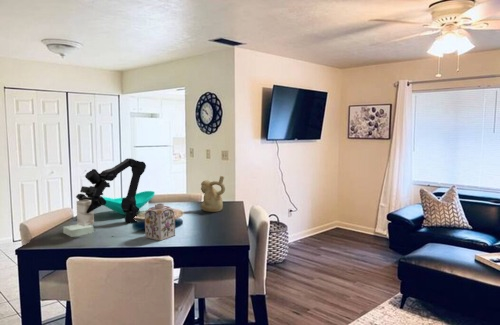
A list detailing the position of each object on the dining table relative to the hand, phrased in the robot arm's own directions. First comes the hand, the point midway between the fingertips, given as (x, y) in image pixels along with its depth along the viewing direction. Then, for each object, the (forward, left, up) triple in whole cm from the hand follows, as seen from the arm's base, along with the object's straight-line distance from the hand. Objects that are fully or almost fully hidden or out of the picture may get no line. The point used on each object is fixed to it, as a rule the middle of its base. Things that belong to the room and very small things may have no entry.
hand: (82, 212), depth 200 cm
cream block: (-1, -1, -7) cm, 7 cm away
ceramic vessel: (-84, -31, -14) cm, 91 cm away
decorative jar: (-38, +19, -14) cm, 45 cm away
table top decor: (-27, -48, -14) cm, 57 cm away
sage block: (+3, -9, -14) cm, 17 cm away
